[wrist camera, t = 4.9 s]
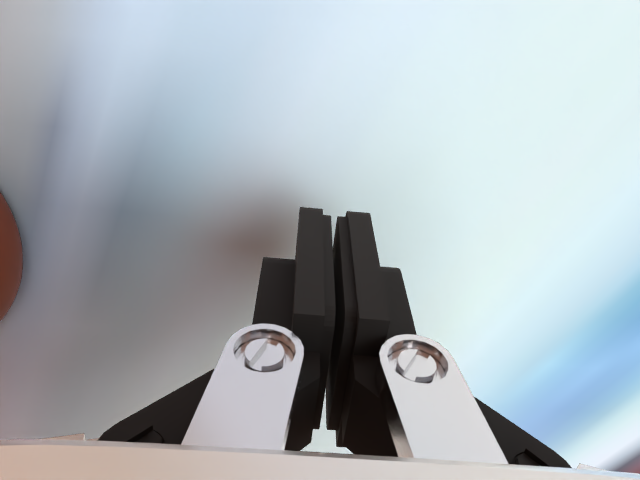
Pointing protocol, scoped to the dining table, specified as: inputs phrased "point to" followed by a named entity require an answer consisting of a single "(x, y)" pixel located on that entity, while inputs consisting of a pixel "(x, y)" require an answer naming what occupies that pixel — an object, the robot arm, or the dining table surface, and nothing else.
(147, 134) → the dining table surface
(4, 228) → the poop emoji
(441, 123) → the dining table surface
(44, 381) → the dining table surface
